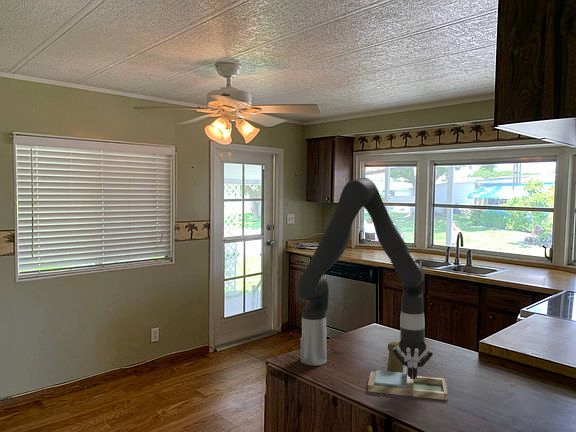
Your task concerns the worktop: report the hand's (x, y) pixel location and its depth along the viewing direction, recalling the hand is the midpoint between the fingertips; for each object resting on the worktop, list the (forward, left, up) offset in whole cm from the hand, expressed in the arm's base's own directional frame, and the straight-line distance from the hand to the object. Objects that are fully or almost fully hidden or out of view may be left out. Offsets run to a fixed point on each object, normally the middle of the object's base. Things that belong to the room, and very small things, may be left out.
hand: (412, 378), depth 136 cm
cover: (-7, 0, -1) cm, 7 cm away
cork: (-6, +10, -4) cm, 12 cm away
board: (-2, 0, -3) cm, 4 cm away
